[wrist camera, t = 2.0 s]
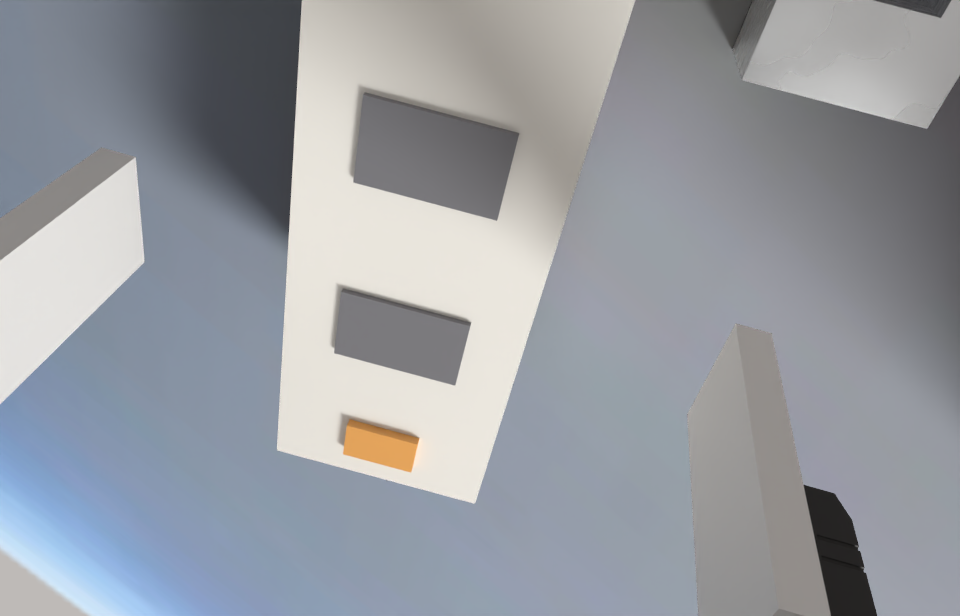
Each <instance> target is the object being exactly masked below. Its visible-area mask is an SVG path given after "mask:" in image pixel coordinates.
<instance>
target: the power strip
mask: <svg viewBox="0 0 960 616" xmlns="http://www.w3.org/2000/svg"><path fill="white" fill-rule="evenodd" d="M634 3H635V0H302V7H301V25H300V43H299V62H298V80H297V98H296V116H295V134H294V152H293V170H292V188H291V206H290V224H289V242H288V260H287V278H286V296H285V314H284V333H283V351H282V369H281V387H280V405H279V423H278V441H277V450H278V451H282V452H285V453H289V454H293V455H296V456H300V457H304V458H308V459H311V460H315V461H319V462H322V463H326V464H330V465H333V466H337V467H341V468H345V469H348V470H352V471H356V472H359V473H363V474H367V475H370V476H374V477H378V478H382V479H385V480H389V481H393V482H396V483H400V484H404V485H407V486H411V487H415V488H419V489H422V490H426V491H430V492H433V493H437V494H441V495H445V496H448V497H452V498H456V499H459V500H463V501H467V502H470V503H474V504H475V502H476V498H477V495H478V492H479V489H480V486H481V483H482V480H483V476H484V473H485V470H486V467H487V464H488V461H489V458H490V454H491V451H492V448H493V445H494V442H495V439H496V436H497V433H498V429H499V426H500V423H501V420H502V417H503V414H504V411H505V407H506V404H507V401H508V398H509V395H510V392H511V389H512V385H513V382H514V379H515V376H516V373H517V370H518V367H519V364H520V360H521V357H522V354H523V351H524V348H525V345H526V342H527V338H528V335H529V332H530V329H531V326H532V323H533V320H534V316H535V313H536V310H537V307H538V304H539V301H540V298H541V295H542V291H543V288H544V285H545V282H546V279H547V276H548V273H549V269H550V266H551V263H552V260H553V257H554V254H555V251H556V247H557V244H558V241H559V238H560V235H561V232H562V229H563V226H564V222H565V219H566V216H567V213H568V210H569V207H570V204H571V200H572V197H573V194H574V191H575V188H576V185H577V182H578V178H579V175H580V172H581V169H582V166H583V163H584V160H585V157H586V153H587V150H588V147H589V144H590V141H591V138H592V135H593V131H594V128H595V125H596V122H597V119H598V116H599V113H600V110H601V106H602V103H603V100H604V97H605V94H606V91H607V88H608V84H609V81H610V78H611V75H612V72H613V69H614V66H615V62H616V59H617V56H618V53H619V50H620V47H621V44H622V41H623V37H624V34H625V31H626V28H627V25H628V22H629V19H630V15H631V12H632V9H633V6H634Z"/></svg>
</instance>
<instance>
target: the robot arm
mask: <svg viewBox="0 0 960 616" xmlns="http://www.w3.org/2000/svg"><path fill="white" fill-rule="evenodd" d="M143 263H144V250H143V238H142V226H141V215H140V203H139V191H138V179H137V167H136V157H134V156H130V155H126V154H123V153H119V152H116V151H112V150H108V149H105V148H100V149H99V150H97V151H96V152H94V153H93V154H91V155H90V156H89V157H87V158H86V159H84V160H83V161H81V162H80V163H79V164H77V165H76V166H74V167H73V168H71V169H70V170H69V171H67V172H66V173H64V174H63V175H61V176H60V177H59V178H57V179H56V180H54V181H53V182H51V183H50V184H49V185H47V186H46V187H44V188H43V189H41V190H40V191H39V192H37V193H36V194H34V195H33V196H31V197H30V198H29V199H27V200H26V201H24V202H23V203H21V204H20V205H19V206H17V207H16V208H14V209H13V210H11V211H10V212H9V213H7V214H6V215H4V216H3V217H1V218H0V404H1V403H2V402H3V401H4V400H5V399H6V398H7V397H8V396H9V395H10V394H11V393H12V392H13V391H14V390H15V389H16V388H17V387H18V386H19V385H20V384H21V383H22V382H23V381H24V380H25V379H26V378H27V377H28V376H29V375H30V374H31V373H32V372H33V371H34V370H35V369H36V368H37V367H38V366H39V365H40V364H42V363H43V362H44V361H45V360H46V359H47V358H48V357H49V356H50V355H51V354H52V353H53V352H54V351H55V350H56V349H57V348H58V347H59V346H60V345H61V344H62V343H63V342H64V341H65V340H66V339H67V338H68V337H69V336H70V335H71V334H72V333H73V332H74V331H75V330H76V329H77V328H78V327H79V326H80V325H81V324H82V323H83V322H84V321H85V320H86V319H87V318H88V317H89V316H90V315H91V314H92V313H93V312H94V311H95V310H96V309H97V308H98V307H99V306H100V305H101V304H102V303H103V302H104V301H105V300H106V299H107V298H109V297H110V296H111V295H112V294H113V293H114V292H115V291H116V290H117V289H118V288H119V287H120V286H121V285H122V284H123V283H124V282H125V281H126V280H127V279H128V278H129V277H130V276H131V275H132V274H133V273H134V272H135V271H136V270H137V269H138V268H139V267H140V266H141V265H142V264H143ZM687 418H688V436H689V455H690V473H691V491H692V509H693V527H694V546H695V564H696V582H697V600H698V616H877V613H876V609H875V606H874V602H873V598H872V594H871V591H870V587H869V583H868V579H867V575H866V573H864V572H863V570H864V564H863V560H862V557H861V553H860V551H858V547H859V545H858V541H857V538H856V534H855V530H854V526H853V522H852V519H851V518H850V516H849V515H848V513H847V512H846V510H845V509H844V507H843V506H842V504H841V503H840V501H839V500H838V498H837V497H836V495H835V494H834V493H831V492H827V491H824V490H820V489H816V488H813V487H809V486H806V485H803V481H802V476H801V471H800V466H799V462H798V457H797V452H796V447H795V443H794V438H793V433H792V428H791V424H790V419H789V414H788V409H787V405H786V400H785V395H784V390H783V386H782V381H781V376H780V371H779V366H778V362H777V357H776V352H775V347H774V343H773V338H772V333H768V332H765V331H761V330H758V329H754V328H750V327H747V326H743V325H740V324H735V326H734V328H733V330H732V331H731V333H730V335H729V337H728V339H727V341H726V343H725V345H724V346H723V348H722V350H721V352H720V354H719V356H718V358H717V360H716V361H715V363H714V365H713V367H712V369H711V371H710V373H709V375H708V376H707V378H706V380H705V382H704V384H703V386H702V388H701V390H700V391H699V393H698V395H697V397H696V399H695V401H694V403H693V405H692V407H691V408H690V410H689V412H688V414H687Z"/></svg>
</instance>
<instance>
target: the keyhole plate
mask: <svg viewBox="0 0 960 616" xmlns="http://www.w3.org/2000/svg"><path fill="white" fill-rule="evenodd" d="M732 51H733V54H734V57H735V60H736V63H737V66H738V69H739V72H740V76H741V79H742V80H743V81H747V82H751V83H754V84H758V85H762V86H766V87H770V88H773V89H777V90H781V91H785V92H789V93H792V94H796V95H800V96H804V97H808V98H811V99H815V100H819V101H823V102H827V103H830V104H834V105H838V106H842V107H846V108H849V109H853V110H857V111H861V112H865V113H868V114H872V115H876V116H880V117H884V118H887V119H891V120H895V121H899V122H903V123H906V124H910V125H914V126H918V127H922V128H925V129H927V128H928V127H929V125H930V123H931V122H932V120H933V118H934V117H935V115H936V114H937V112H938V110H939V109H940V107H941V105H942V104H943V102H944V100H945V99H946V97H947V96H948V94H949V92H950V91H951V89H952V87H953V86H954V84H955V82H956V81H957V79H958V78H959V76H960V0H753V2H752V4H751V6H750V9H749V11H748V14H747V16H746V19H745V21H744V23H743V26H742V28H741V31H740V33H739V36H738V38H737V40H736V43H735V45H734V48H733V50H732Z"/></svg>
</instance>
